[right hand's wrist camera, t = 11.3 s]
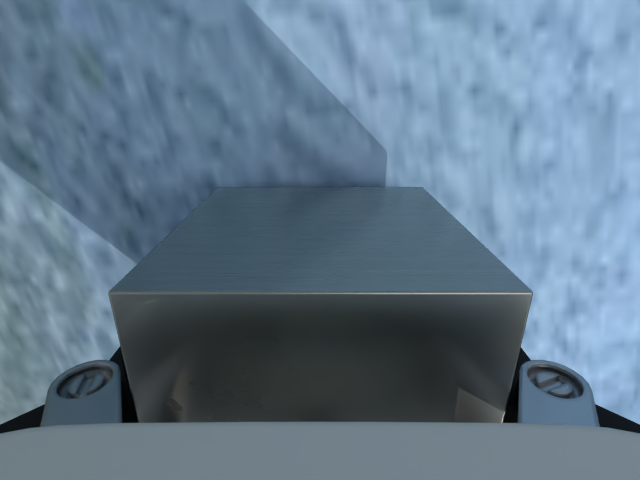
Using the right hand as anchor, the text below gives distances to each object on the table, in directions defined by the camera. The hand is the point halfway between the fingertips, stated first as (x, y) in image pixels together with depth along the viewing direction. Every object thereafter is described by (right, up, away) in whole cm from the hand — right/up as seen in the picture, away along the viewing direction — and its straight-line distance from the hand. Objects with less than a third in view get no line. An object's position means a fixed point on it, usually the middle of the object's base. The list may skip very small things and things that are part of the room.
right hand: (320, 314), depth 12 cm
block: (0, +1, +2) cm, 2 cm away
